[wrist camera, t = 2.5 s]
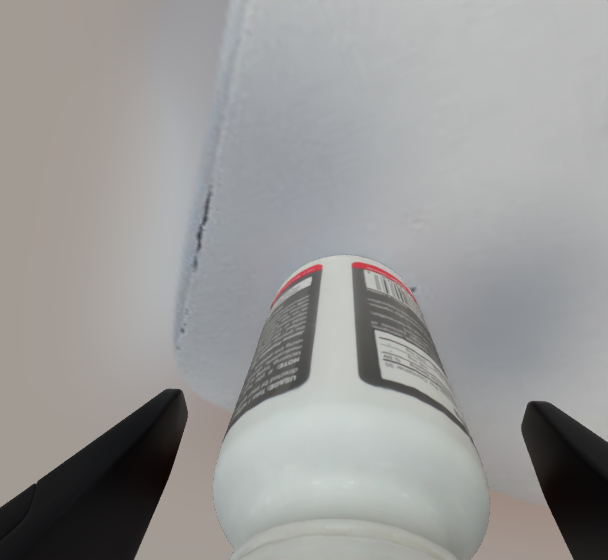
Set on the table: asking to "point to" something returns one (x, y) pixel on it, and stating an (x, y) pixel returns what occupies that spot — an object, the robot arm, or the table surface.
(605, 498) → the robot arm
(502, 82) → the table surface
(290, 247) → the table surface
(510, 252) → the table surface
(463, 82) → the table surface
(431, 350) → the pill bottle
